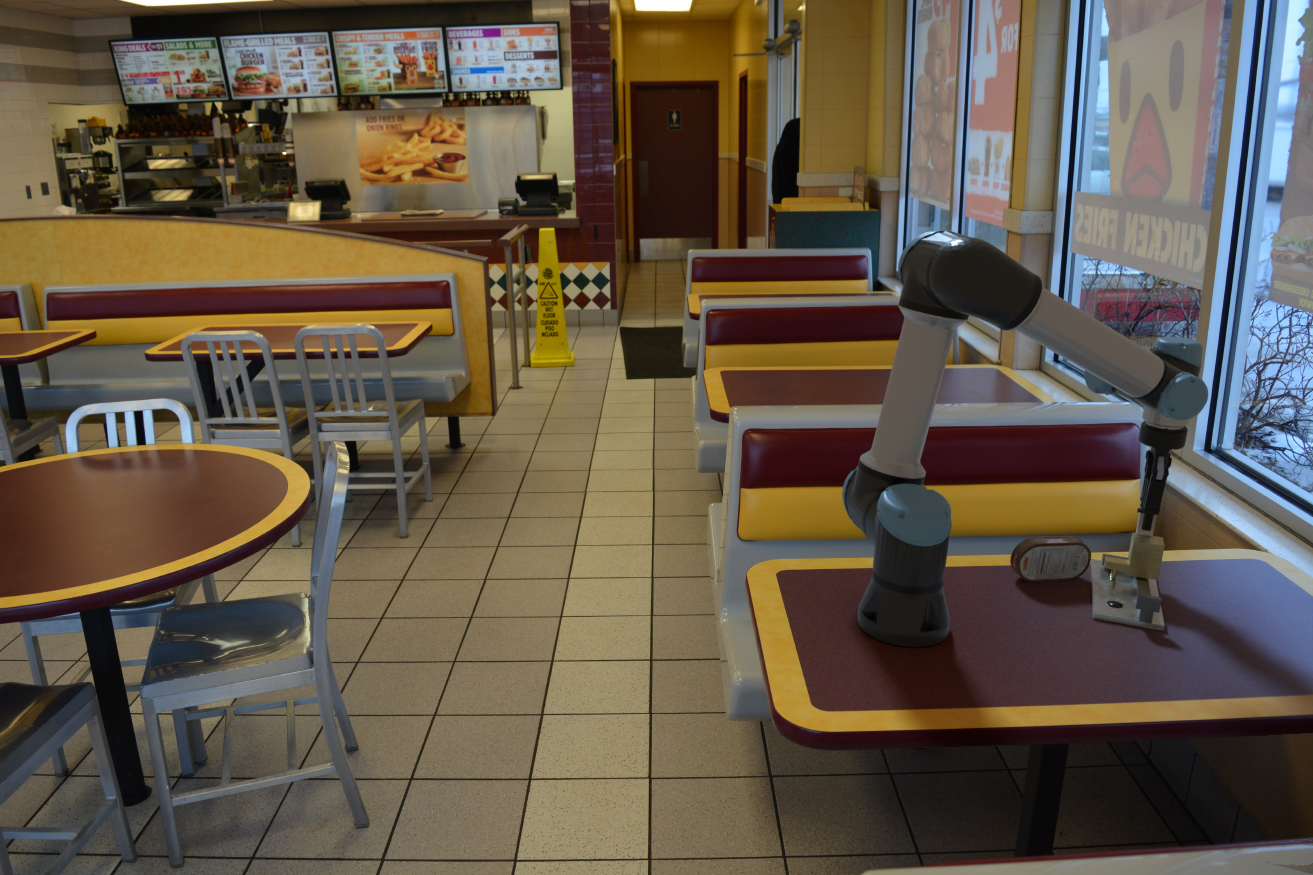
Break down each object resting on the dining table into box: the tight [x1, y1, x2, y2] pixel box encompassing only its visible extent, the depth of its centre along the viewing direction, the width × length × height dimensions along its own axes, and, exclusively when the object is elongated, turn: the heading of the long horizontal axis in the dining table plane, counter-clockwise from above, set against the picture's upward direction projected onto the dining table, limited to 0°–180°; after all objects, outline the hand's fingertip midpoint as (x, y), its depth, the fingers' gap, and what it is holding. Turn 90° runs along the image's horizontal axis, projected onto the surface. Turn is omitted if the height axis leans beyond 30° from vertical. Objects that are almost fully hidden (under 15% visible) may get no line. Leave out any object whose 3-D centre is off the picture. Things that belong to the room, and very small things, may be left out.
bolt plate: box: [1090, 558, 1166, 632], centre depth 174 cm, size 11×24×1 cm, turn 158°
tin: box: [1009, 535, 1092, 583], centre depth 179 cm, size 15×3×8 cm, turn 97°
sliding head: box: [1104, 532, 1165, 581], centre depth 175 cm, size 9×4×9 cm, turn 68°
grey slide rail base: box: [1101, 553, 1163, 624], centre depth 173 cm, size 8×24×5 cm, turn 158°
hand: (1142, 543), depth 179 cm, fingers closed
